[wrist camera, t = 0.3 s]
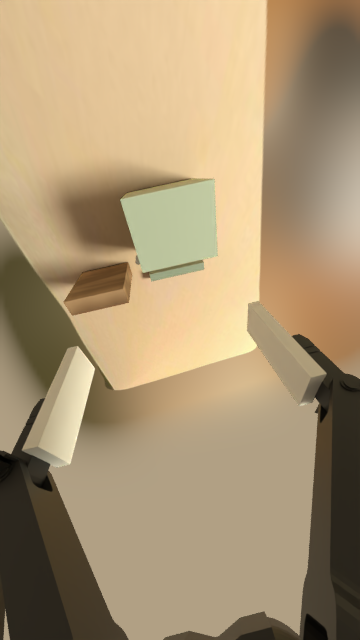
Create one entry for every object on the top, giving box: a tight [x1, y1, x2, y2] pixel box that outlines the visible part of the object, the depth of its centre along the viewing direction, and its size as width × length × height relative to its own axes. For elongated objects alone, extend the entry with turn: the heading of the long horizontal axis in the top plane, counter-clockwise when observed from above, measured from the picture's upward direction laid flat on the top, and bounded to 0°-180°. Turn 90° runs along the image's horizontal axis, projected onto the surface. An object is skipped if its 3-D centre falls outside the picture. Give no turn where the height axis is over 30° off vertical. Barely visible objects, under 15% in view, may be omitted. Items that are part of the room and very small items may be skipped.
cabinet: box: [120, 178, 218, 281], centre depth 30 cm, size 15×12×11 cm
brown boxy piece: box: [64, 262, 132, 316], centre depth 33 cm, size 4×9×11 cm, turn 100°
